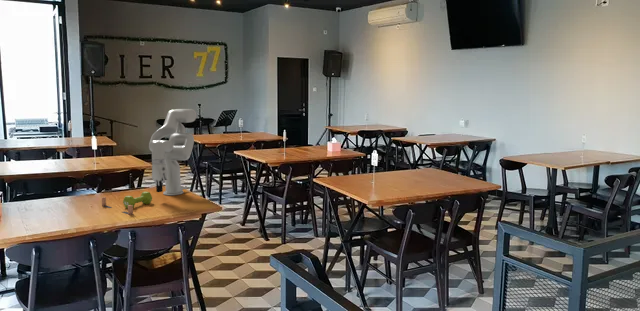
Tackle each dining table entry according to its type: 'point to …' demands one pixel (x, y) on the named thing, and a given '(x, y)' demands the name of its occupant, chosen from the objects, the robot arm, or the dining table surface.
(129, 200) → the dumbbell
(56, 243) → the dining table surface
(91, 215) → the dining table surface
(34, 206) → the dining table surface
